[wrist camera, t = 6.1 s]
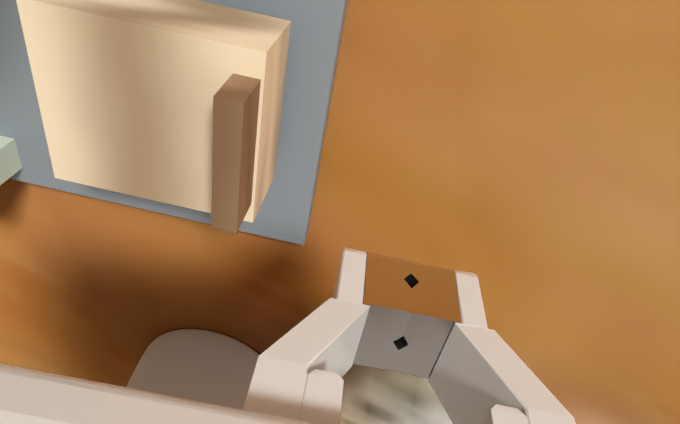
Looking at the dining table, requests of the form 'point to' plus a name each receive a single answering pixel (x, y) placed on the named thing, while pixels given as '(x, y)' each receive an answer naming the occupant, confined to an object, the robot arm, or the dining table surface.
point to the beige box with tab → (161, 99)
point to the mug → (197, 367)
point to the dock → (294, 134)
